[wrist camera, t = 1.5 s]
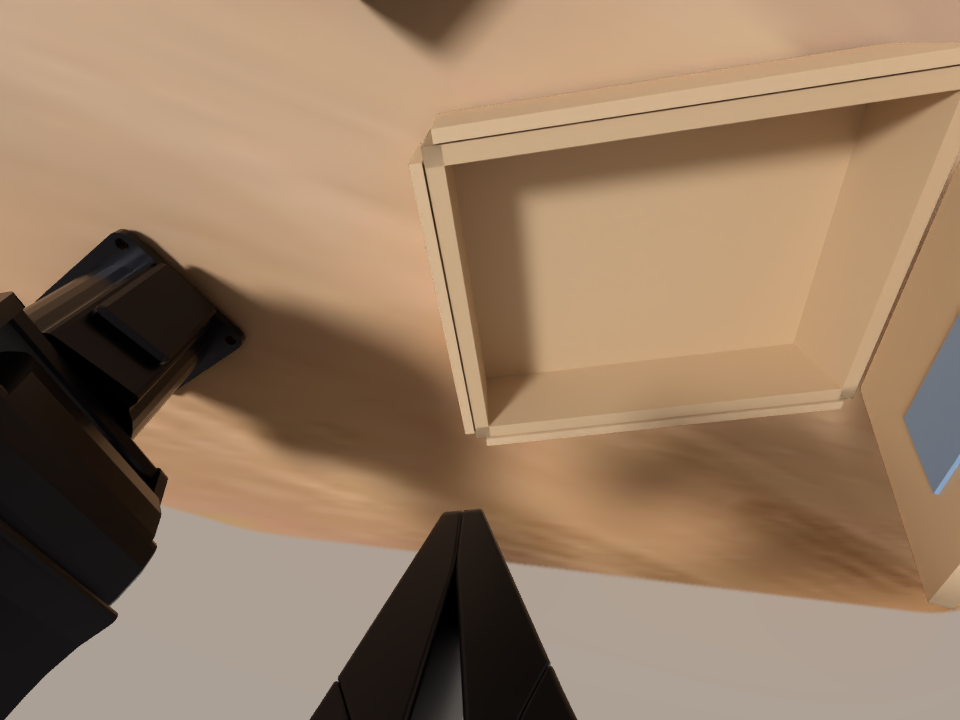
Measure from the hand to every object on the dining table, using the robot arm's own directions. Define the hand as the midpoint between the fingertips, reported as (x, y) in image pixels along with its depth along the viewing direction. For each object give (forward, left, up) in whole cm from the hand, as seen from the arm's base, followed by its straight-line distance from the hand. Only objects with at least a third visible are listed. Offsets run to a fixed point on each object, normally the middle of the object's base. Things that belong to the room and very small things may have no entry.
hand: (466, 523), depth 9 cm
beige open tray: (+6, -3, -13) cm, 15 cm away
